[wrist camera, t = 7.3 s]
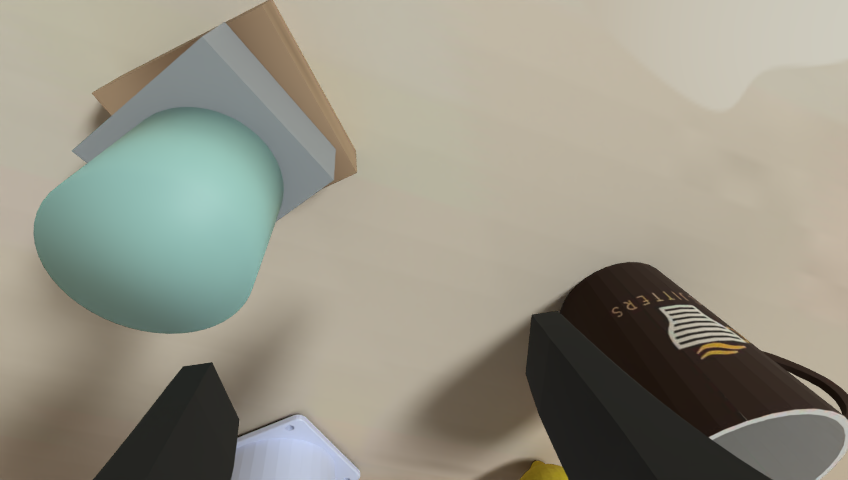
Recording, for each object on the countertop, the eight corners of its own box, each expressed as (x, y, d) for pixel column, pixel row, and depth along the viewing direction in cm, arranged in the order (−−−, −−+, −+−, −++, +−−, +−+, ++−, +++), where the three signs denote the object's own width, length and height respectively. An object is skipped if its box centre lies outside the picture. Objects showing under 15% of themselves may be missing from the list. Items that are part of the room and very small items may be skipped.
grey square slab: (232, 224, 17) (216, 263, 15) (111, 120, 14) (71, 150, 12) (335, 149, 16) (333, 180, 14) (224, 22, 13) (202, 36, 11)
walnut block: (230, 206, 19) (216, 237, 17) (124, 73, 16) (91, 93, 14) (355, 147, 19) (357, 172, 16) (273, -3, 15) (262, 5, 13)
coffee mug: (511, 340, 26) (589, 525, 18) (606, 222, 22) (761, 387, 14) (649, 381, 30) (764, 545, 22) (748, 288, 26) (931, 444, 18)
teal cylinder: (191, 262, 15) (138, 355, 11) (86, 145, 12) (-20, 220, 9) (311, 212, 14) (292, 295, 11) (224, 79, 12) (166, 134, 8)
